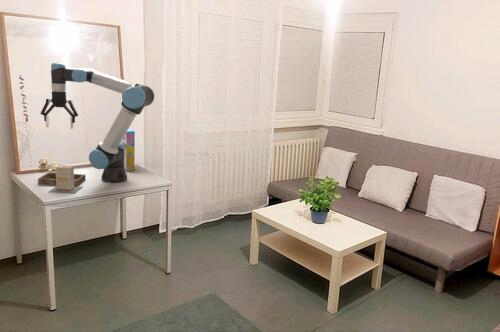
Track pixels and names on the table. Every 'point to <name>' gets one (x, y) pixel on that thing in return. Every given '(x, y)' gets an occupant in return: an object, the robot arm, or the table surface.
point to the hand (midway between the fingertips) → (59, 127)
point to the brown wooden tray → (51, 179)
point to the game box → (129, 149)
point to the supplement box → (65, 177)
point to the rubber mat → (65, 190)
